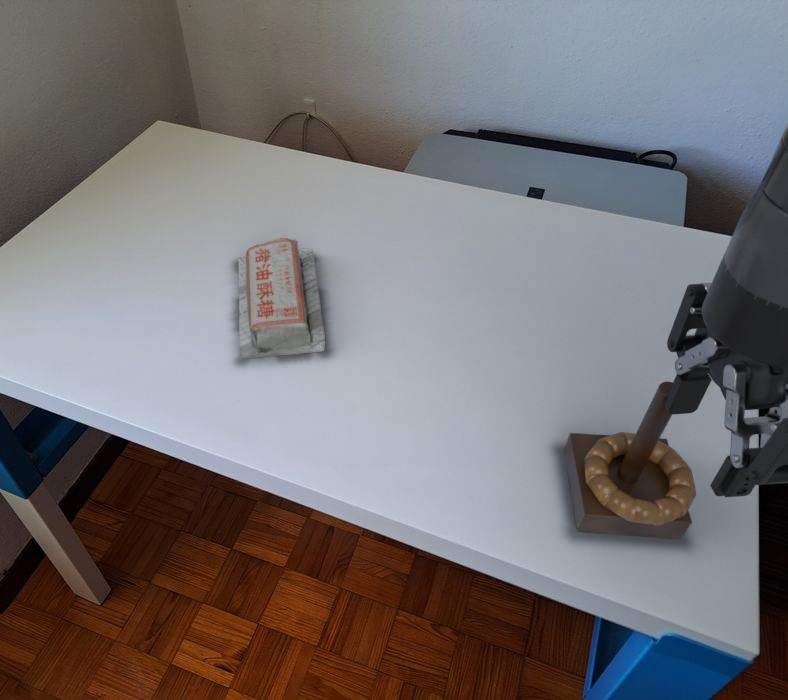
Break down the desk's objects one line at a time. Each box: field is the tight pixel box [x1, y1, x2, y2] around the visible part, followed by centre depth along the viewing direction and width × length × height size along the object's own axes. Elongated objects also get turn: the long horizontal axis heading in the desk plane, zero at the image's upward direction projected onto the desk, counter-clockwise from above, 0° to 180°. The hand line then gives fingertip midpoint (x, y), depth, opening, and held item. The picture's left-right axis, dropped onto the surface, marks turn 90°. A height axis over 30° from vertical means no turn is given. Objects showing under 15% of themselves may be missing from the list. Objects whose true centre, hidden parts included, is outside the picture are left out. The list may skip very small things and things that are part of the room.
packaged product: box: [238, 237, 326, 359], centre depth 83 cm, size 18×5×10 cm
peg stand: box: [563, 381, 693, 540], centre depth 59 cm, size 9×9×15 cm
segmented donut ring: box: [584, 431, 697, 525], centre depth 61 cm, size 9×9×2 cm
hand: (701, 448), depth 50 cm, fingers open, 7 cm apart
